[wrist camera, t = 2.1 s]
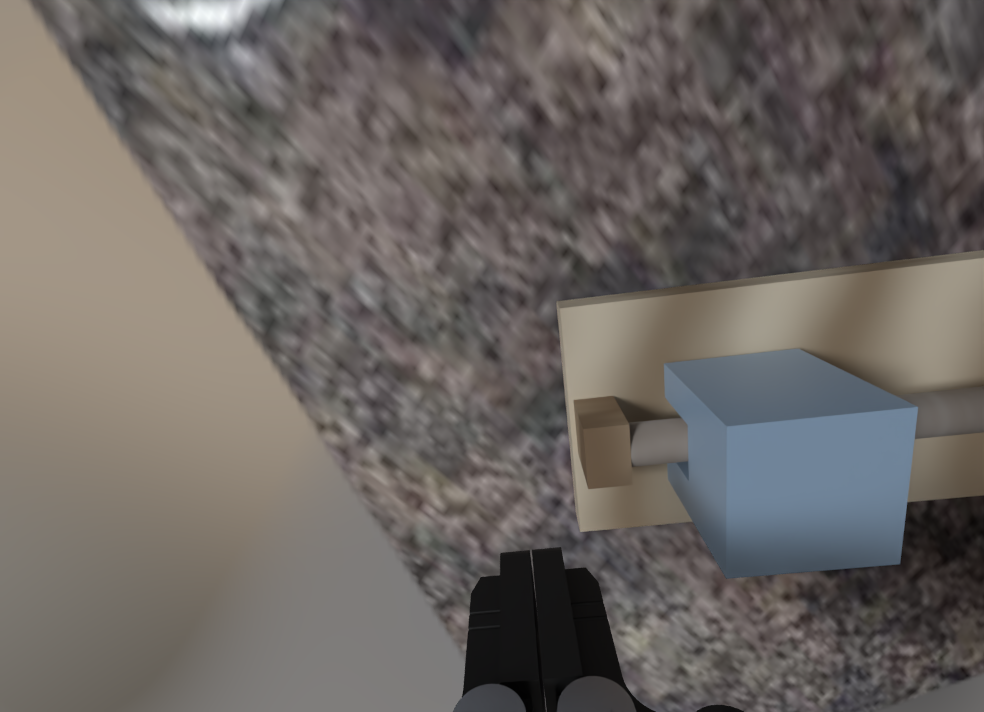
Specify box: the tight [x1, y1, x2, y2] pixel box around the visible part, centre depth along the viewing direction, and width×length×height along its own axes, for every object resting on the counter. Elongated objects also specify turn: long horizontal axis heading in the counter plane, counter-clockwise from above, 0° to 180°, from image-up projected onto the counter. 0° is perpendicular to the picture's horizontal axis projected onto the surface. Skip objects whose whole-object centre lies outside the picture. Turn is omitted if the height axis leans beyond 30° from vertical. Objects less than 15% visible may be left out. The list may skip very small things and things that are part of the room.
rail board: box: [556, 250, 984, 532], centre depth 18 cm, size 22×10×7 cm, turn 97°
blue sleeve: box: [664, 349, 918, 579], centre depth 17 cm, size 5×5×6 cm
